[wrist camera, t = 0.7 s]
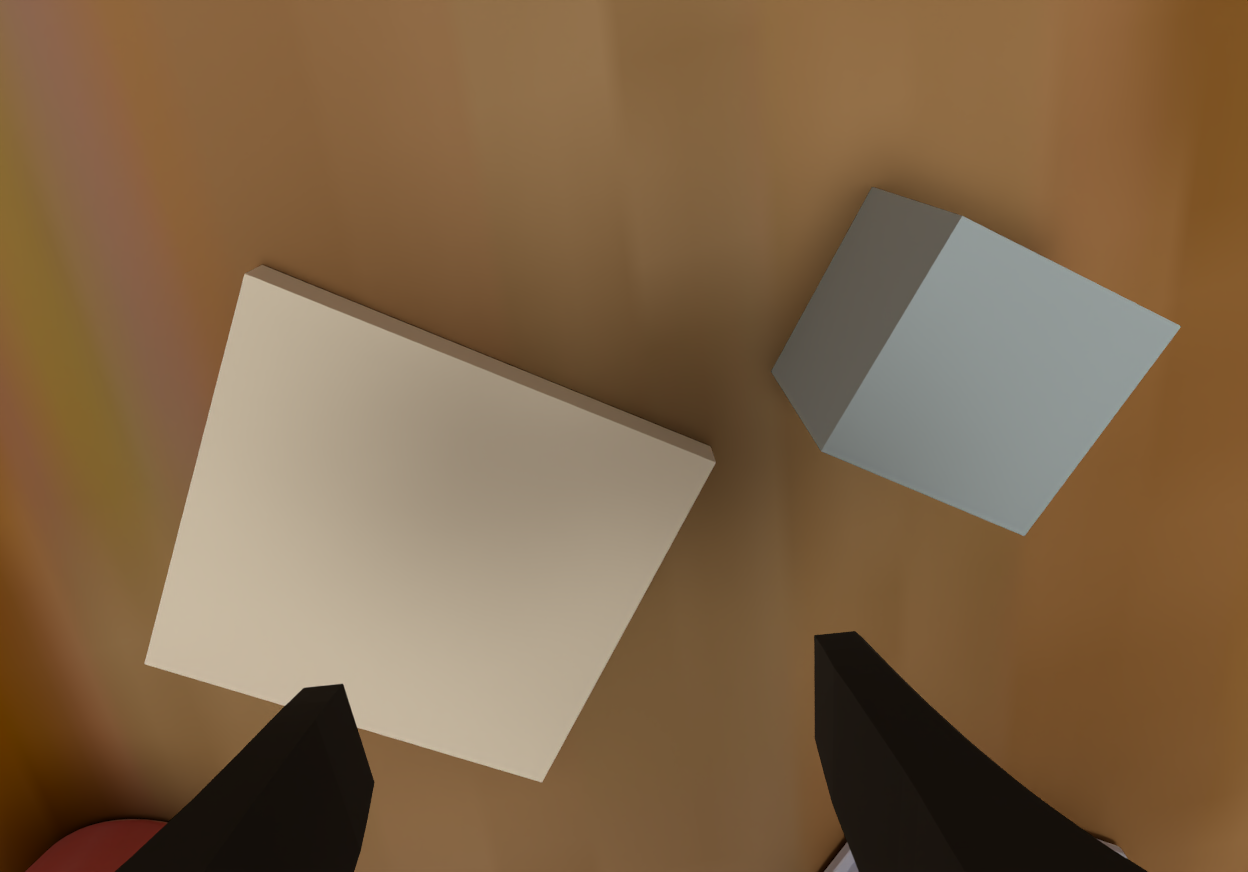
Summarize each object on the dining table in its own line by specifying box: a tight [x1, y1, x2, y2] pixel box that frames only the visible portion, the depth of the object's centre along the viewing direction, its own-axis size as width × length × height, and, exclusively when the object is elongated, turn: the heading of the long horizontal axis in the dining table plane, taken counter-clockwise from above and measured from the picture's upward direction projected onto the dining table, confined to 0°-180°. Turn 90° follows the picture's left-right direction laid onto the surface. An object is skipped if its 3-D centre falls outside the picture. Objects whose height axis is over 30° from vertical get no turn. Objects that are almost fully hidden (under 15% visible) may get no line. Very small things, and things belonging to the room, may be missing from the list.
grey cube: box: [771, 187, 1181, 536], centre depth 17 cm, size 5×5×5 cm
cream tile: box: [145, 265, 716, 782], centre depth 21 cm, size 12×12×1 cm
